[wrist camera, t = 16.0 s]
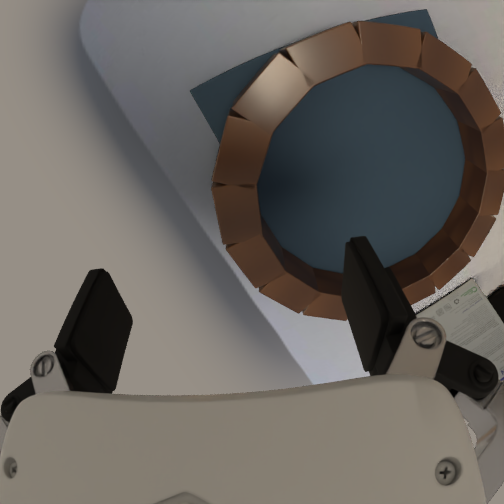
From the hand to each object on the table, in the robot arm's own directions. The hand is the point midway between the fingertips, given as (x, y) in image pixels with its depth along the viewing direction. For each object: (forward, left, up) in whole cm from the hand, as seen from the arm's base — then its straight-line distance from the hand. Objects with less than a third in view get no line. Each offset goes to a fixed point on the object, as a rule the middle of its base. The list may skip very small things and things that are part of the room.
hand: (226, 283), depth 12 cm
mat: (0, +9, -10) cm, 13 cm away
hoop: (+1, +9, -9) cm, 13 cm away
